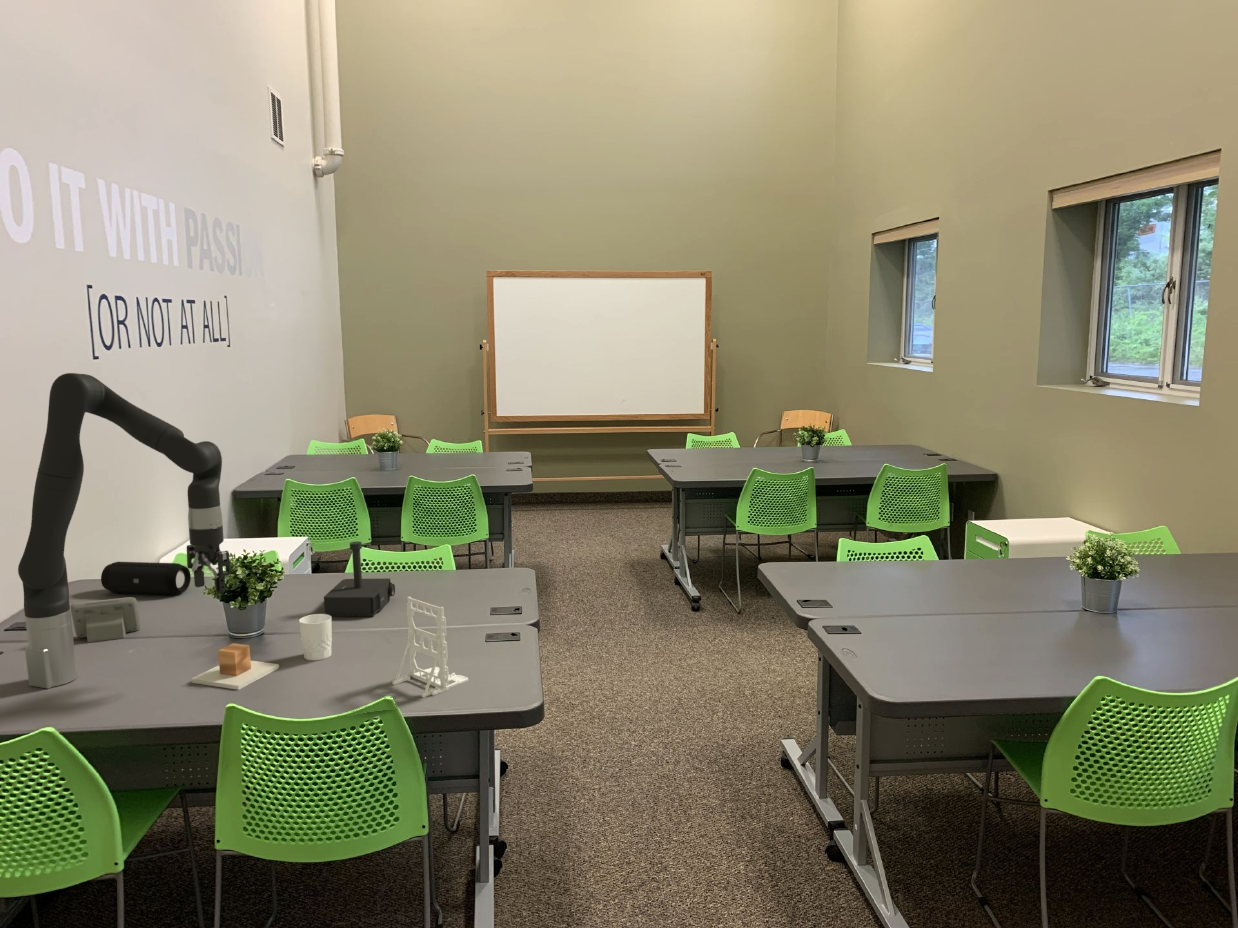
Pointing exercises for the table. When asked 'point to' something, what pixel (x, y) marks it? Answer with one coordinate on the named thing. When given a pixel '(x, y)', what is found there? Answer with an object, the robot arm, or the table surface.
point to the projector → (358, 592)
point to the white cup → (316, 636)
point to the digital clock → (105, 618)
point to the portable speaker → (146, 578)
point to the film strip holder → (428, 652)
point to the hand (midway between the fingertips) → (210, 589)
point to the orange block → (234, 659)
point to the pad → (235, 682)
